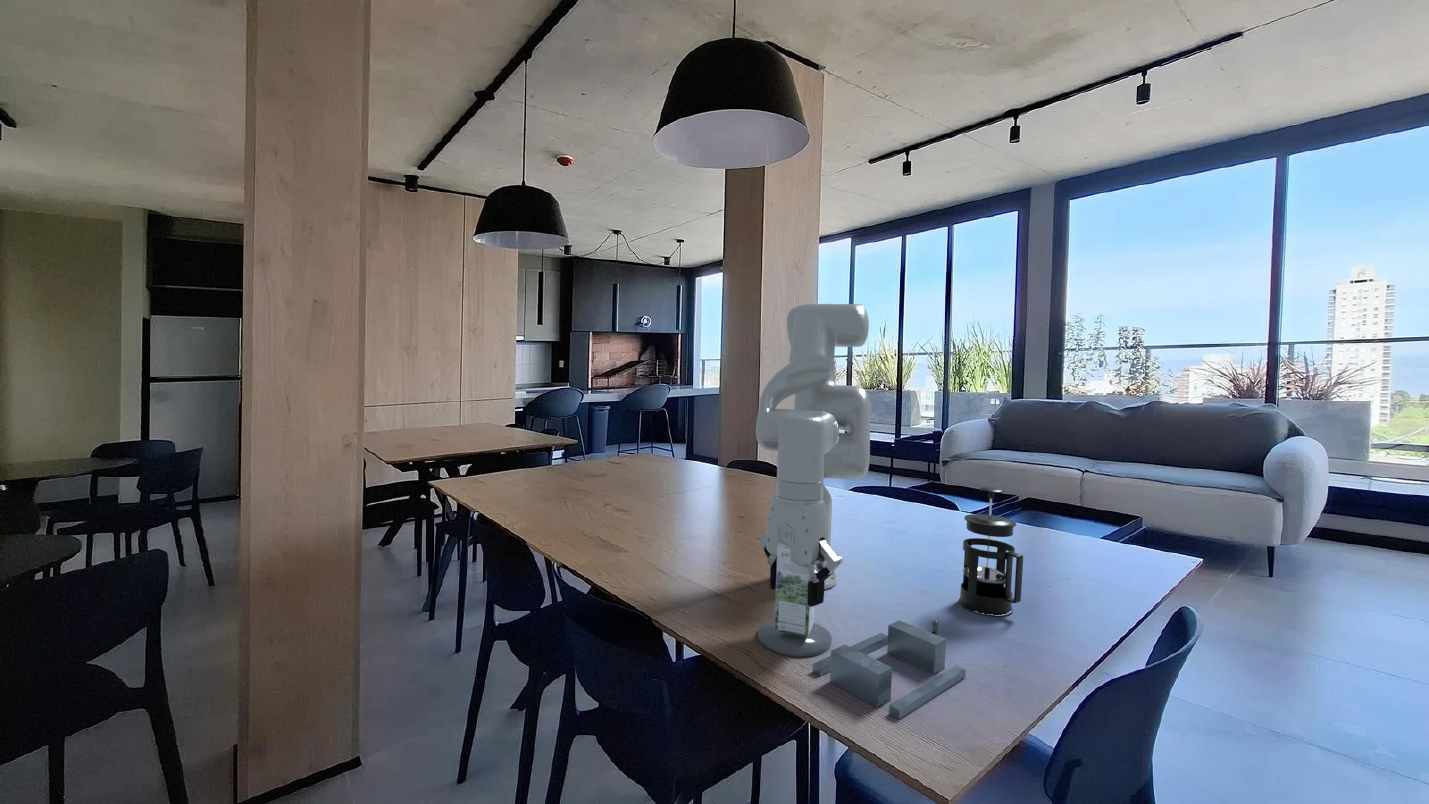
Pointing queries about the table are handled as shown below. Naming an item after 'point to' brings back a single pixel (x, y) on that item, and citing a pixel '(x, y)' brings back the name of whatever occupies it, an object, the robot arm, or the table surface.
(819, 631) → the coaster
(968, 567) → the french press
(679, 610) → the table surface
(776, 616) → the syrup box
